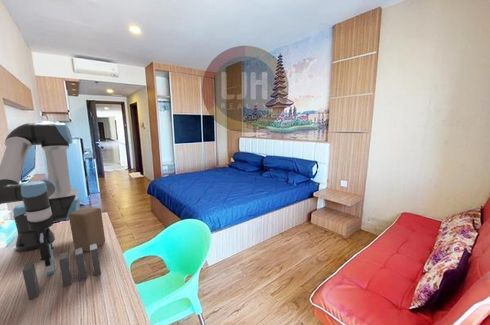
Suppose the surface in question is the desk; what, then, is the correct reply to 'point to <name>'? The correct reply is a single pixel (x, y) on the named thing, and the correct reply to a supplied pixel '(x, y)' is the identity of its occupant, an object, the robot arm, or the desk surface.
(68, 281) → the domino
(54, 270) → the domino
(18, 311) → the desk surface
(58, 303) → the desk surface
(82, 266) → the domino
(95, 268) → the domino
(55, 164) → the robot arm
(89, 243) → the block
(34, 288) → the domino
